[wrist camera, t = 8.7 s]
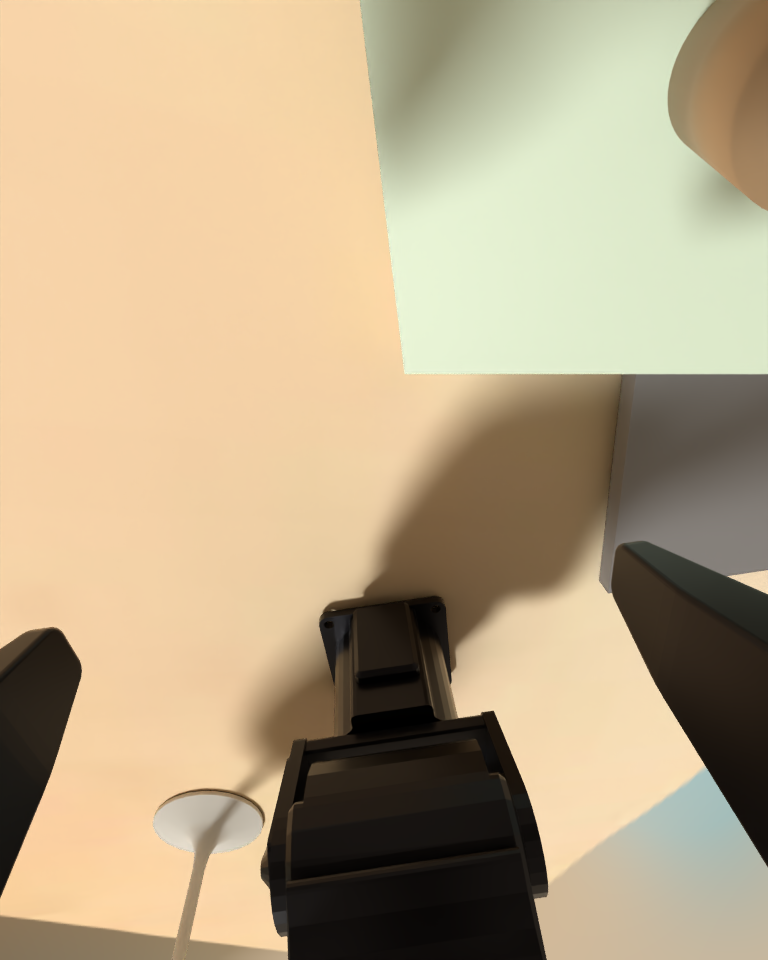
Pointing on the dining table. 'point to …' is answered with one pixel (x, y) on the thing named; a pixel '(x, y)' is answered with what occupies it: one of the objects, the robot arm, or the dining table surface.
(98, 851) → the dining table surface
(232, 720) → the dining table surface
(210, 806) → the wineglass
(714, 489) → the mat
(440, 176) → the lid
